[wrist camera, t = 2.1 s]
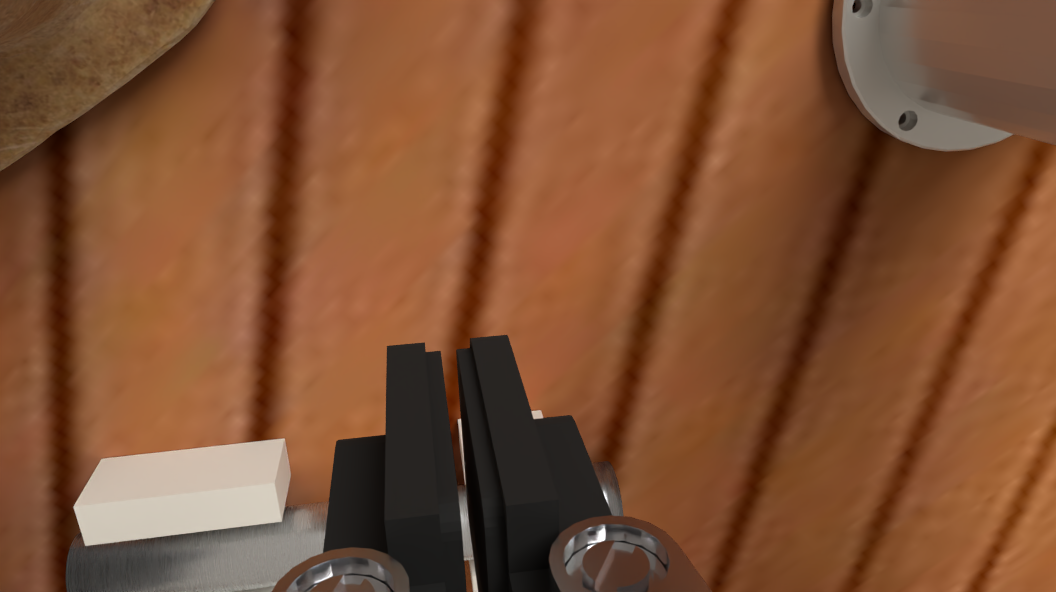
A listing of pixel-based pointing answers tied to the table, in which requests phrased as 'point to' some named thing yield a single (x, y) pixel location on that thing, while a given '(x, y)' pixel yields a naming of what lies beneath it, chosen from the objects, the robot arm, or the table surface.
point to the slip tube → (233, 552)
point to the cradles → (192, 492)
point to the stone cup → (76, 58)
